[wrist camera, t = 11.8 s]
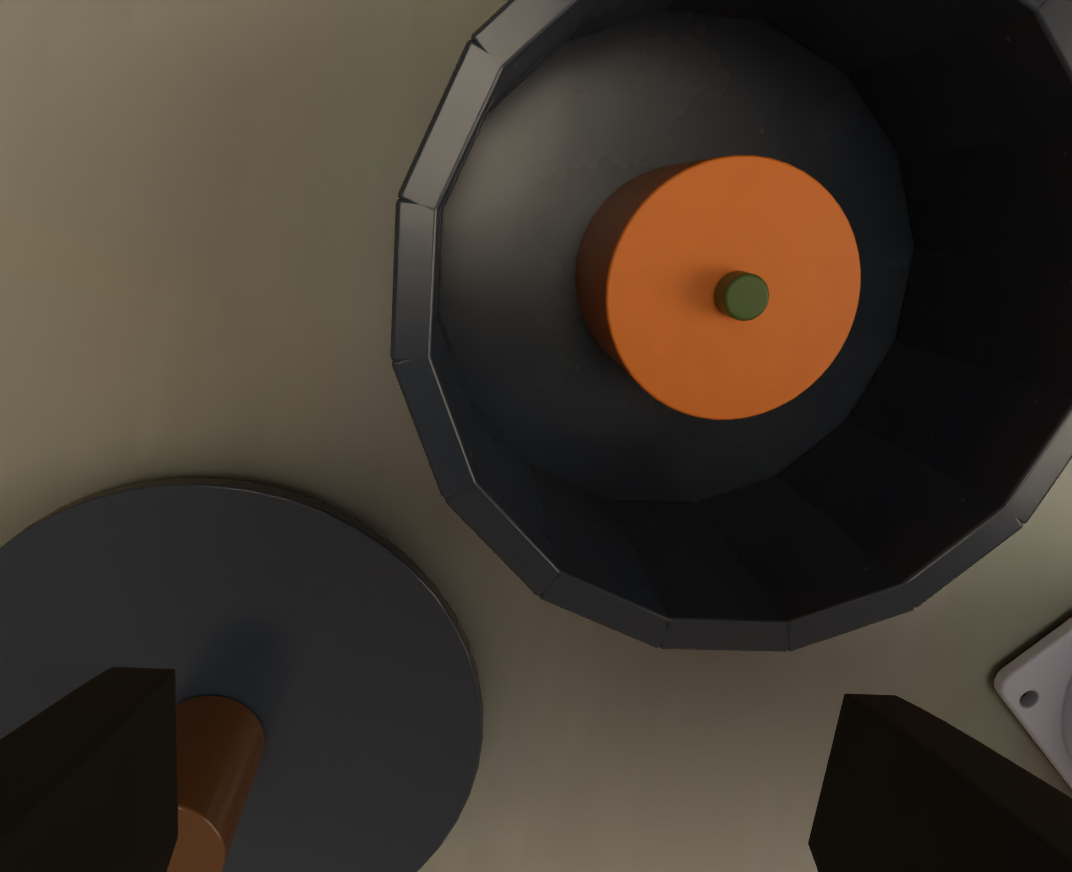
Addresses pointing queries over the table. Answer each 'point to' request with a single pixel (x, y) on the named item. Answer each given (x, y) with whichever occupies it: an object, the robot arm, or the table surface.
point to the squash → (720, 283)
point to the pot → (847, 384)
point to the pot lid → (257, 667)
